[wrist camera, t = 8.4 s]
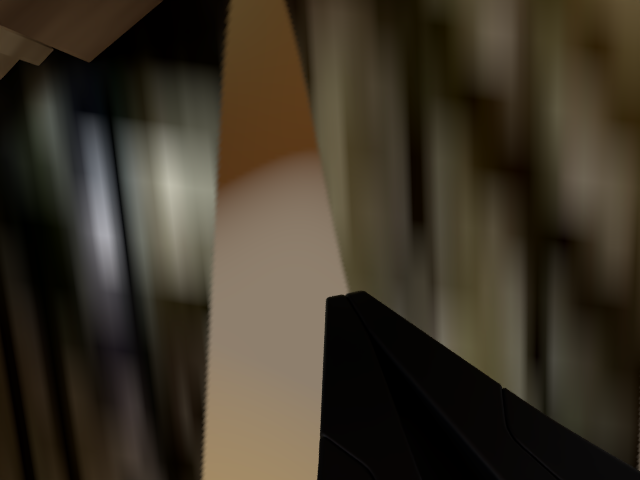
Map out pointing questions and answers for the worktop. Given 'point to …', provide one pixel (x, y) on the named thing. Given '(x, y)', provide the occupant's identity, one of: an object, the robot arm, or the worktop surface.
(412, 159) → the worktop surface
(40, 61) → the rail channel
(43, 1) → the walnut block
